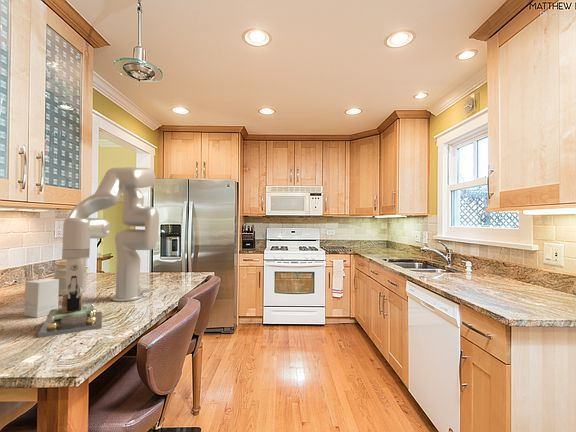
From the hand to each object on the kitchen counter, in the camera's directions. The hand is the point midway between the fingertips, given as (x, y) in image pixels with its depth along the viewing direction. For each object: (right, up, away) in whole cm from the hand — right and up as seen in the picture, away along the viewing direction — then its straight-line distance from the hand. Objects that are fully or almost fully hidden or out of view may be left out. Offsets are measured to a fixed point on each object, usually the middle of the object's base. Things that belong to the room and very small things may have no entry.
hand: (73, 307), depth 97 cm
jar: (-34, -7, +43) cm, 56 cm away
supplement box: (-20, -6, +11) cm, 24 cm away
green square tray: (0, -2, 0) cm, 2 cm away
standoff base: (0, -6, 0) cm, 6 cm away
